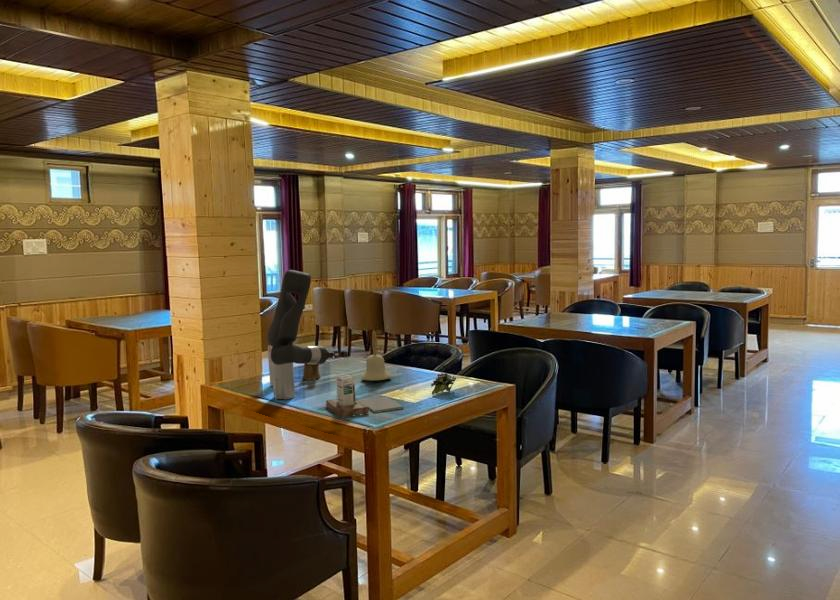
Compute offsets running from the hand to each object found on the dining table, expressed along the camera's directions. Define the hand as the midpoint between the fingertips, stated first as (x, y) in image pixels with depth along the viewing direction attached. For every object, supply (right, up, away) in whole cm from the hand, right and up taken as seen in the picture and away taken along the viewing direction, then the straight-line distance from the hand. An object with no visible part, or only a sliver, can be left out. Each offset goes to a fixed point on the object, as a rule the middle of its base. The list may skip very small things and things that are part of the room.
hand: (339, 355), depth 272 cm
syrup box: (+4, -23, -5) cm, 24 cm away
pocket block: (+4, -23, -5) cm, 24 cm away
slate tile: (+17, -22, +1) cm, 28 cm away
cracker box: (-37, -19, +50) cm, 65 cm away
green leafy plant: (+46, -19, +19) cm, 53 cm away
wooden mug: (-21, -18, +59) cm, 65 cm away
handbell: (+12, -17, +52) cm, 56 cm away
